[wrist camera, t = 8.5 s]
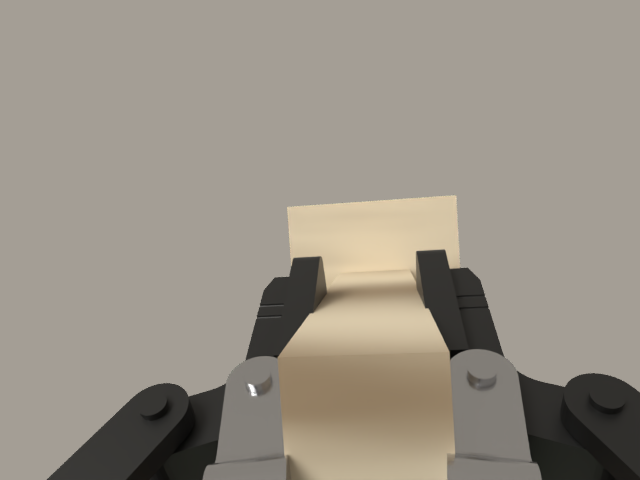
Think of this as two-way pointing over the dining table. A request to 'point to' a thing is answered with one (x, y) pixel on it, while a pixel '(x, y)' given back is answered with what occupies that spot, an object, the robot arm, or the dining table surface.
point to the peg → (369, 346)
